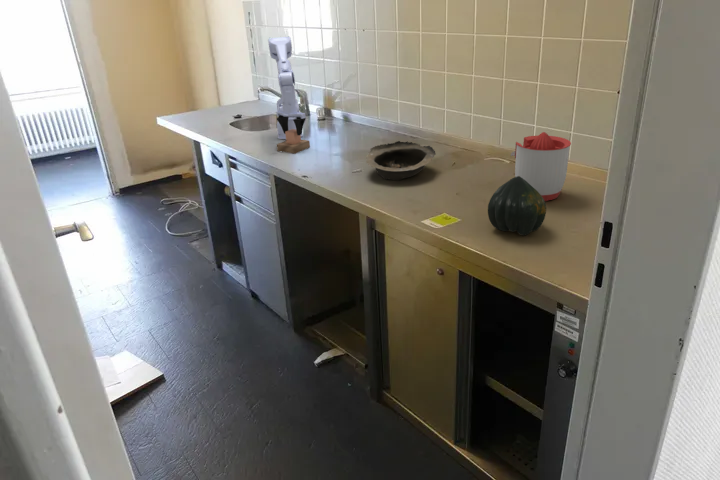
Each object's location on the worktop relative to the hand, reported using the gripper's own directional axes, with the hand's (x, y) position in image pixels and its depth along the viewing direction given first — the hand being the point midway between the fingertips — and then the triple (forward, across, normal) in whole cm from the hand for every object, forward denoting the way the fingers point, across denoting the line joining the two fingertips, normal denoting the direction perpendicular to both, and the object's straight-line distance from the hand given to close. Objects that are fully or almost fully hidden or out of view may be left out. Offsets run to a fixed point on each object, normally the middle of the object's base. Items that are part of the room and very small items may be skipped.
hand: (292, 134), depth 231 cm
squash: (+7, +111, -37) cm, 117 cm away
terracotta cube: (+4, 0, 0) cm, 4 cm away
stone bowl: (+7, +59, -10) cm, 60 cm away
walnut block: (+7, 0, 0) cm, 7 cm away
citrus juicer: (+7, +108, -10) cm, 109 cm away
